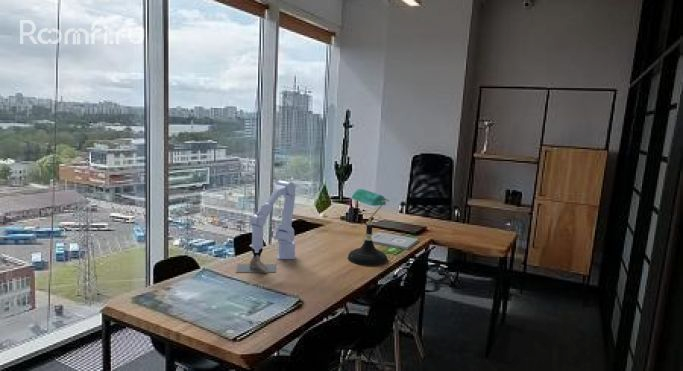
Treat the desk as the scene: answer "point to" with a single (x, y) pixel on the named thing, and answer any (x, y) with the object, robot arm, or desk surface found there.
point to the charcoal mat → (247, 269)
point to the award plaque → (393, 240)
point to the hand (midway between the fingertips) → (257, 261)
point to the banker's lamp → (368, 233)
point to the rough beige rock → (258, 264)
